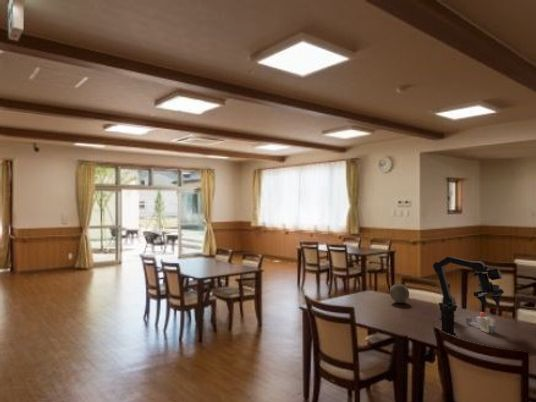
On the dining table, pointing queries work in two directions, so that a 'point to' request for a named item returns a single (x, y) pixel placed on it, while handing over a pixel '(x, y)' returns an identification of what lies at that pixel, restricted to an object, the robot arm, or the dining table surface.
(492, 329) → the rail
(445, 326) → the black fluted column
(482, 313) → the plunger
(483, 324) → the carriage
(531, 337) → the dining table surface
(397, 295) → the cantaloupe
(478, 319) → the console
